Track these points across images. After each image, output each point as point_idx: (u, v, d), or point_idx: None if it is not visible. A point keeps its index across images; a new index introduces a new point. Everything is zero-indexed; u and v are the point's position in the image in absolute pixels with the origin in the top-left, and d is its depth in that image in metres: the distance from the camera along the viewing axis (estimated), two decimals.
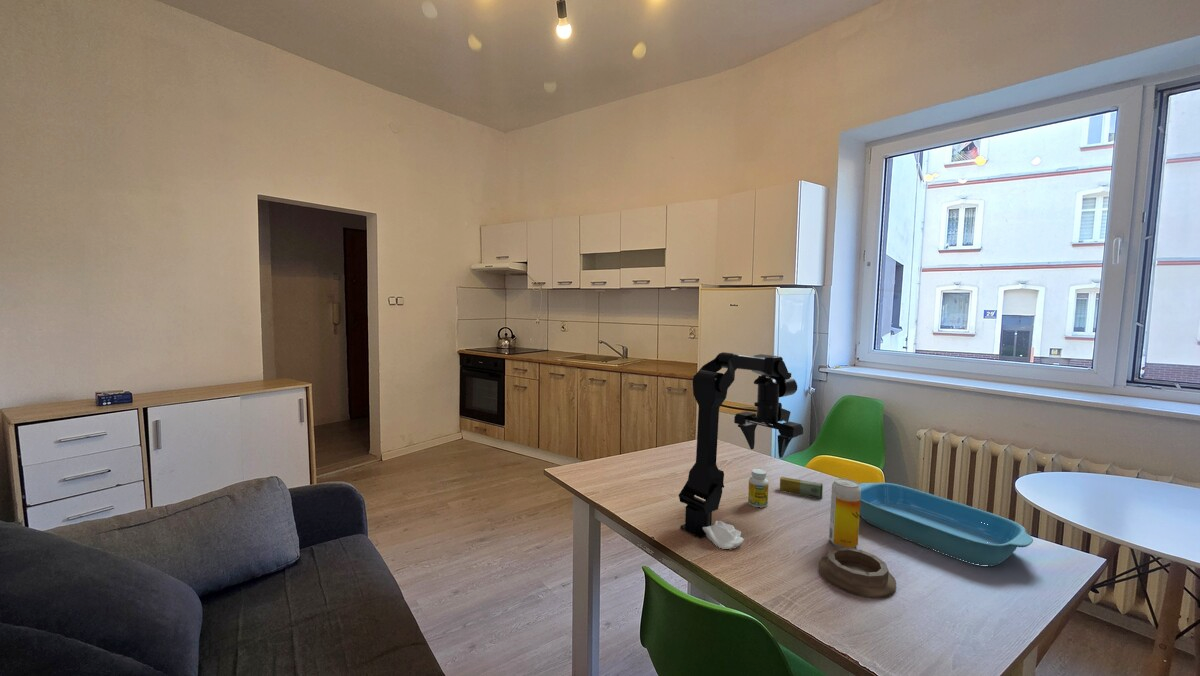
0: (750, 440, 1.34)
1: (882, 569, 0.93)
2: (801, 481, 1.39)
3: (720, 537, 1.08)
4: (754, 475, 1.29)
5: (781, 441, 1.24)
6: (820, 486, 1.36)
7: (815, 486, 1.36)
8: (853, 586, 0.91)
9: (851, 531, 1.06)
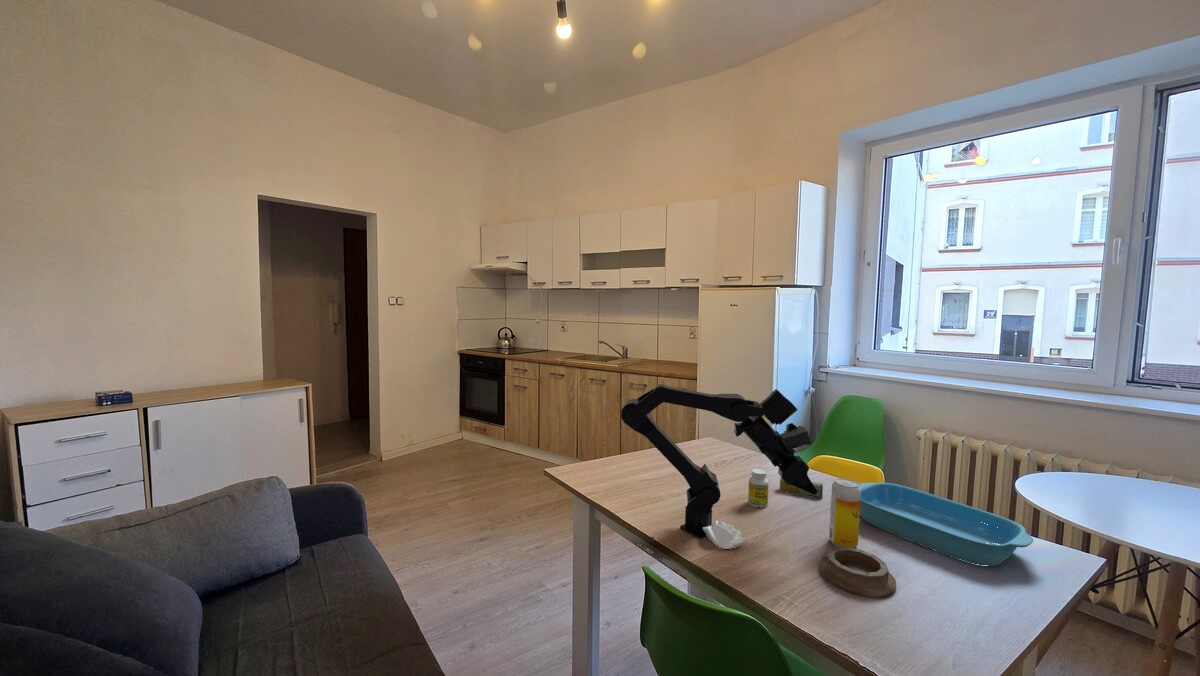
0: None
1: (882, 569, 0.93)
2: None
3: (720, 537, 1.08)
4: (754, 475, 1.29)
5: None
6: (820, 486, 1.36)
7: (815, 486, 1.36)
8: (853, 586, 0.91)
9: (851, 531, 1.06)
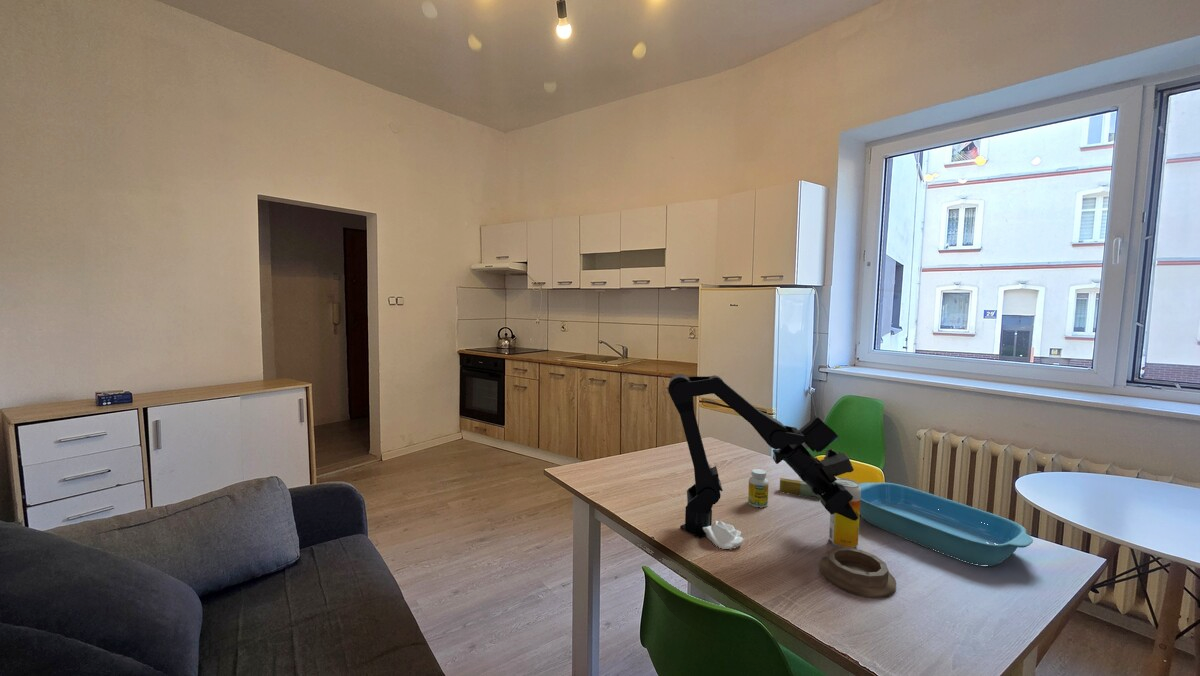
0: None
1: (882, 569, 0.93)
2: (801, 482, 1.39)
3: (720, 537, 1.08)
4: (754, 475, 1.29)
5: None
6: None
7: None
8: (853, 586, 0.91)
9: (851, 531, 1.06)
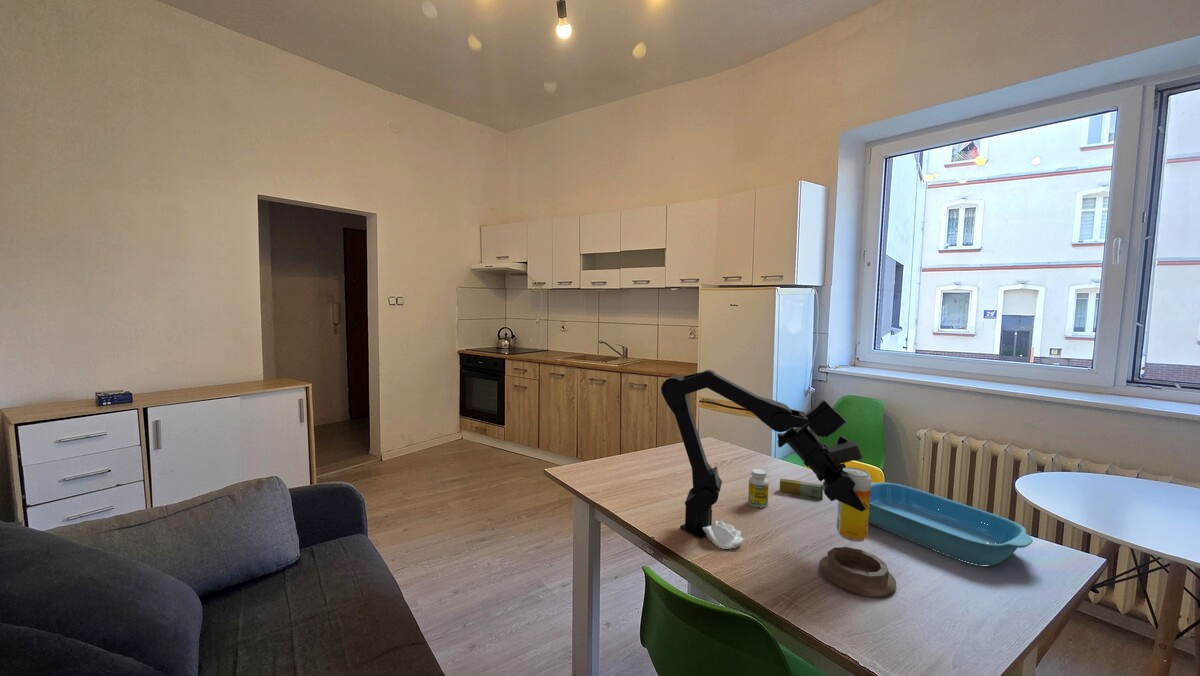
0: None
1: (882, 569, 0.93)
2: (801, 482, 1.38)
3: (720, 537, 1.08)
4: (754, 475, 1.29)
5: None
6: (820, 487, 1.35)
7: (815, 487, 1.36)
8: (853, 586, 0.91)
9: (858, 522, 1.00)
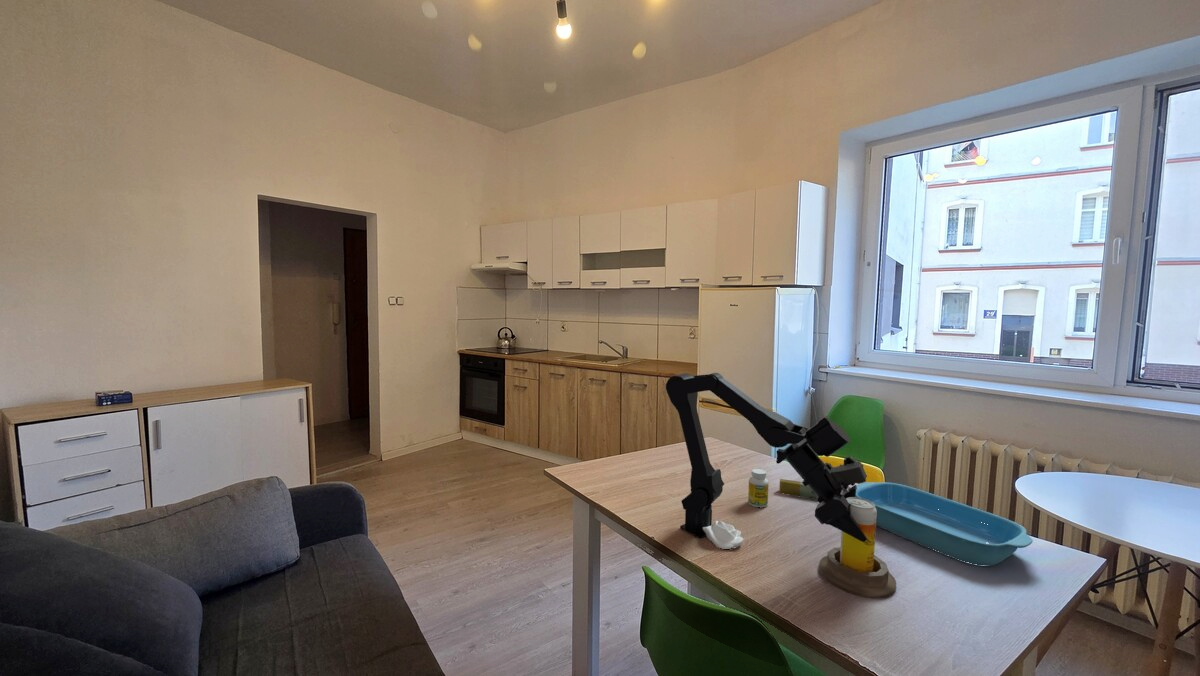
0: None
1: (882, 569, 0.93)
2: (801, 483, 1.38)
3: (720, 537, 1.08)
4: (754, 475, 1.29)
5: None
6: None
7: None
8: (853, 586, 0.91)
9: (858, 558, 0.93)
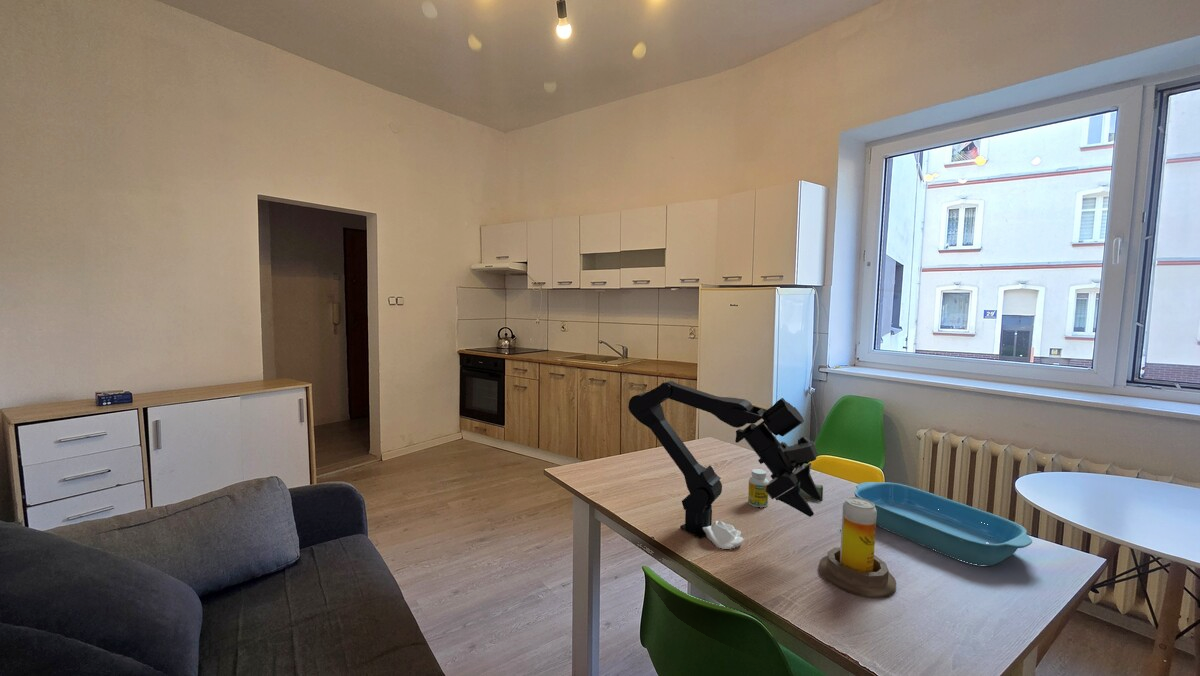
0: (807, 491, 1.05)
1: (882, 569, 0.93)
2: None
3: (720, 537, 1.08)
4: (754, 475, 1.29)
5: None
6: (820, 488, 1.34)
7: None
8: (853, 586, 0.91)
9: (858, 557, 0.93)
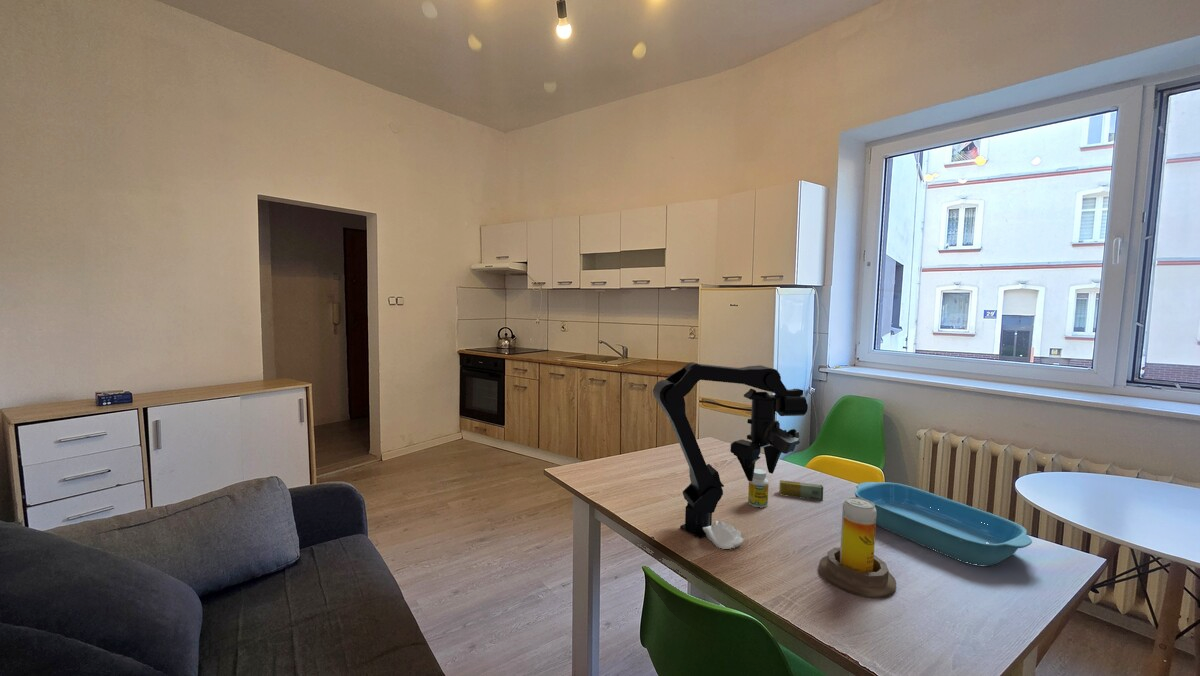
0: (767, 461, 1.20)
1: (882, 569, 0.93)
2: (801, 484, 1.37)
3: (720, 537, 1.08)
4: (754, 475, 1.29)
5: None
6: (821, 488, 1.35)
7: (816, 488, 1.35)
8: (853, 586, 0.91)
9: (858, 557, 0.93)
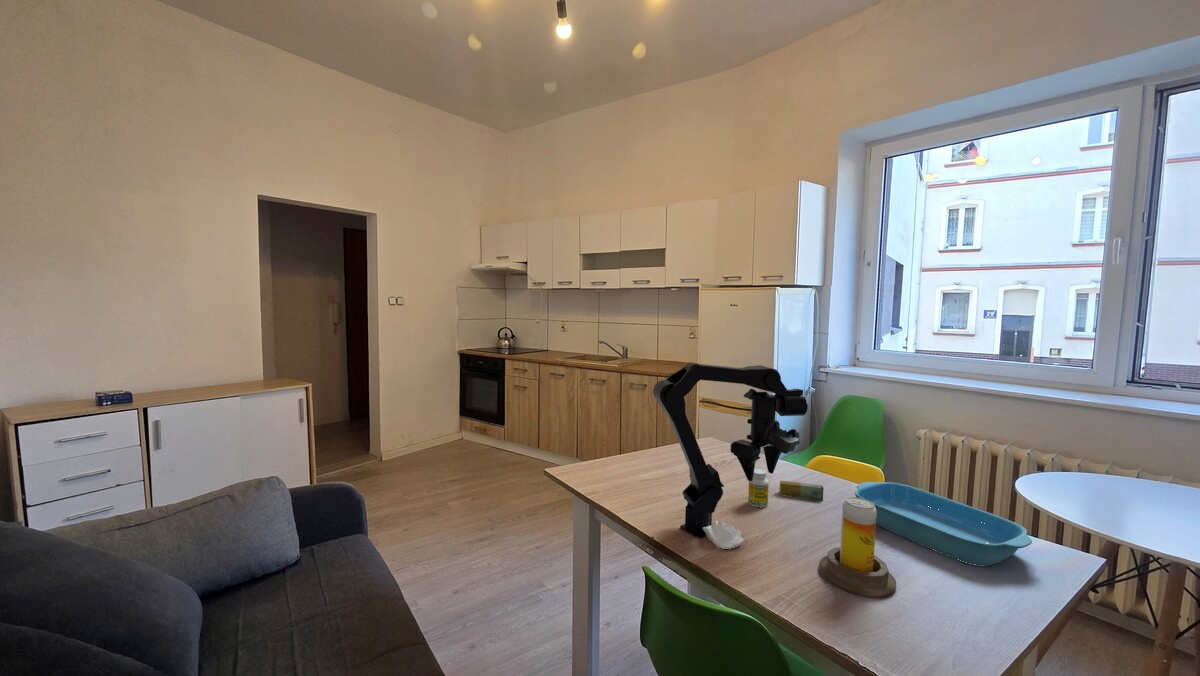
0: (767, 461, 1.20)
1: (882, 569, 0.93)
2: (801, 484, 1.37)
3: (720, 537, 1.08)
4: (754, 475, 1.29)
5: None
6: (821, 488, 1.34)
7: (816, 488, 1.35)
8: (853, 586, 0.91)
9: (858, 557, 0.93)
